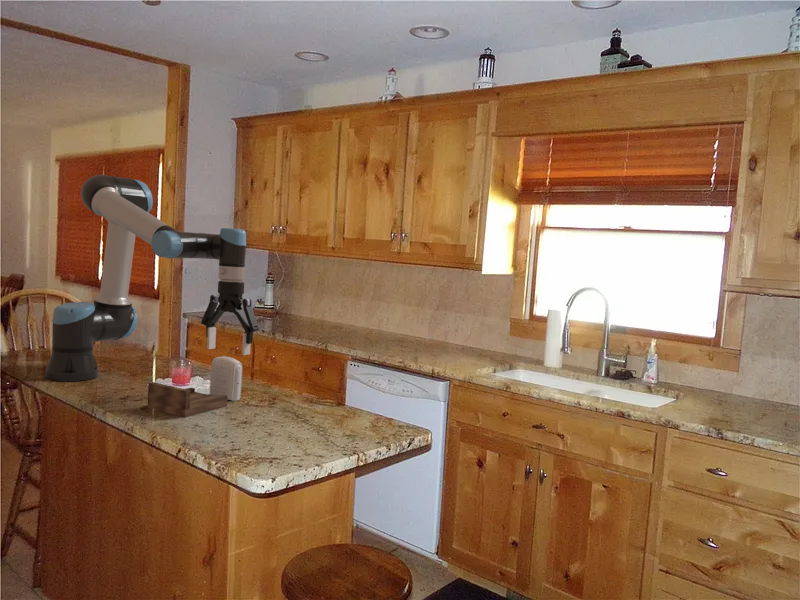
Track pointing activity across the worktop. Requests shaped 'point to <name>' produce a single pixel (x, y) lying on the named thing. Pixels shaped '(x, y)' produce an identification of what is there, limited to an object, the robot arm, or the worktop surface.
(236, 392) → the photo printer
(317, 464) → the worktop surface
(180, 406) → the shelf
